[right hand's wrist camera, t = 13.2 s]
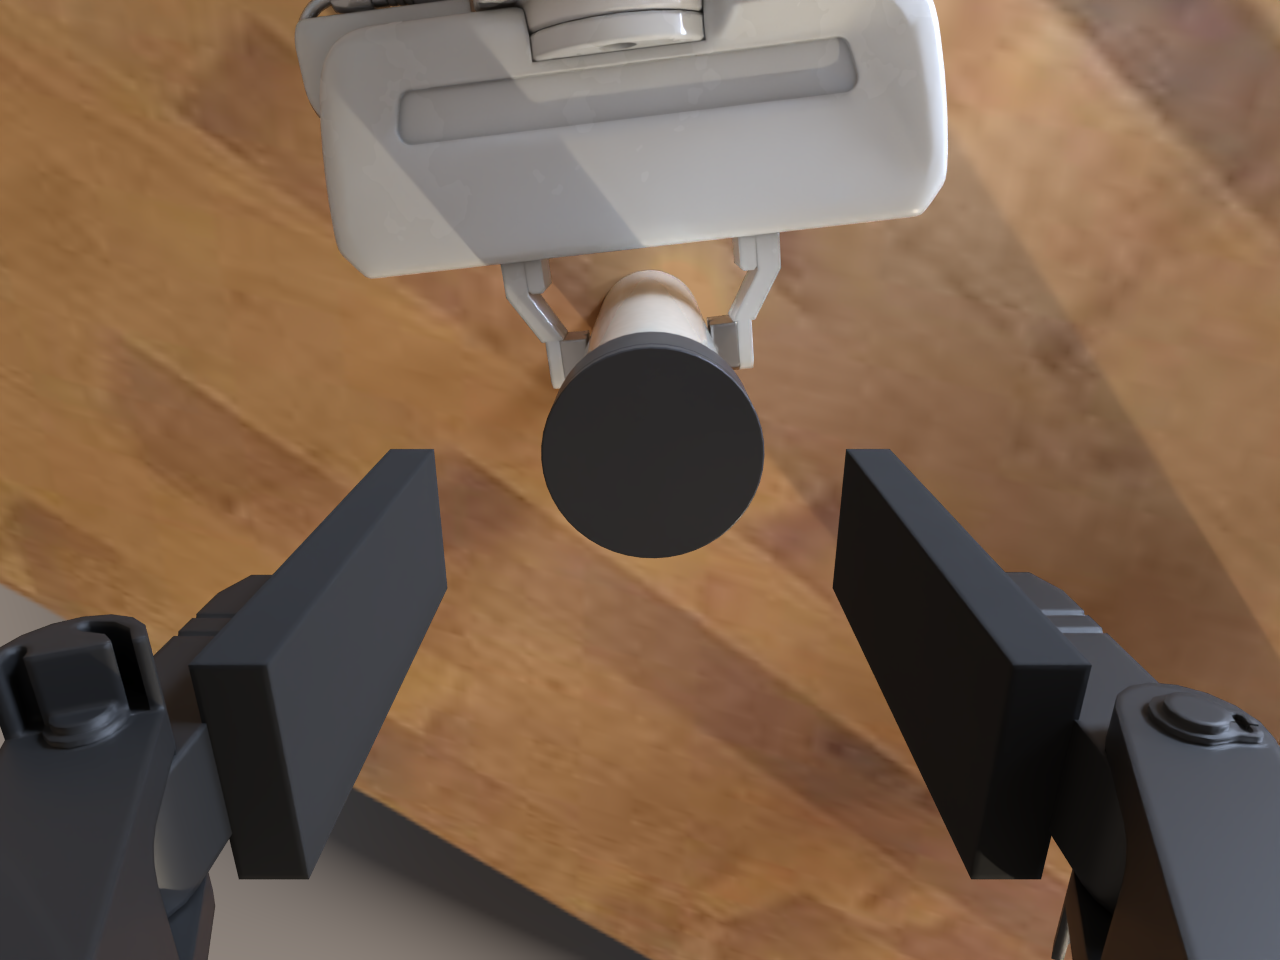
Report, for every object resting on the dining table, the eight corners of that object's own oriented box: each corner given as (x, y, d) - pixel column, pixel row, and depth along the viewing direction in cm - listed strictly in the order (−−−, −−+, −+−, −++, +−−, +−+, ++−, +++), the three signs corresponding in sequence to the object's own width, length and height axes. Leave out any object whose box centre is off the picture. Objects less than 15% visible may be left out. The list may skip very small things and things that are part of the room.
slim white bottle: (624, 385, 36) (604, 567, 19) (583, 295, 35) (520, 403, 18) (714, 346, 36) (778, 498, 18) (676, 253, 34) (706, 322, 17)
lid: (602, 552, 21) (598, 588, 19) (516, 381, 19) (501, 402, 17) (782, 481, 20) (796, 511, 18) (708, 296, 18) (714, 309, 16)
